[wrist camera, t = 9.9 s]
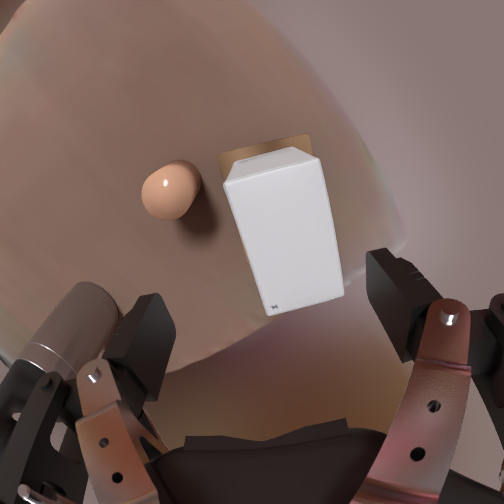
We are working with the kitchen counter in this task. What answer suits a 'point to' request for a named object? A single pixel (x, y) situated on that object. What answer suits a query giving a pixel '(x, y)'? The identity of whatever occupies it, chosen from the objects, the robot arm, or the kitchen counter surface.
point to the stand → (258, 149)
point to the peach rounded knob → (171, 190)
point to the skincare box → (286, 228)
